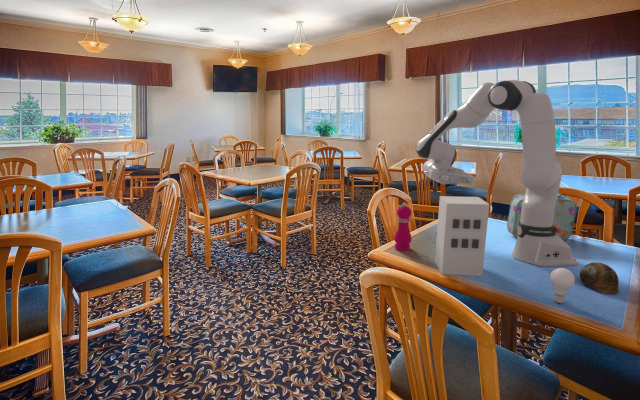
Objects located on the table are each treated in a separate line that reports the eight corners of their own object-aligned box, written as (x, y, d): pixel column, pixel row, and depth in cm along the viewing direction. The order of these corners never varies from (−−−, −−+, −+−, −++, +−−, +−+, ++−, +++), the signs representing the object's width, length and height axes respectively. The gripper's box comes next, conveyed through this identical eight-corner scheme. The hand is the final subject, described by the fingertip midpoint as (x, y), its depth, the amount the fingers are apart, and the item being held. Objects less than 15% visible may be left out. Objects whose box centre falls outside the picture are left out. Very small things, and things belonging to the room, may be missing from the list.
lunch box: (563, 235, 181) (569, 191, 176) (575, 243, 171) (582, 195, 166) (504, 234, 183) (509, 190, 178) (512, 241, 173) (518, 194, 168)
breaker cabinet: (472, 263, 148) (478, 196, 142) (482, 276, 135) (490, 205, 130) (435, 261, 149) (439, 196, 143) (442, 275, 137) (447, 204, 131)
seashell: (571, 281, 132) (574, 259, 130) (594, 279, 134) (598, 257, 132) (600, 296, 121) (604, 272, 119) (625, 293, 123) (629, 270, 121)
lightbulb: (567, 299, 119) (573, 266, 116) (573, 309, 113) (579, 274, 111) (544, 296, 121) (549, 263, 118) (548, 305, 115) (553, 271, 113)
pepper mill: (411, 252, 160) (413, 205, 155) (393, 250, 161) (395, 204, 156) (410, 246, 166) (413, 201, 162) (393, 245, 168) (395, 200, 163)
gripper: (424, 163, 171) (438, 169, 158) (465, 170, 175) (482, 176, 162) (421, 177, 172) (434, 184, 159) (462, 183, 176) (478, 191, 163)
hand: (459, 180), depth 160 cm, fingers open, 8 cm apart
